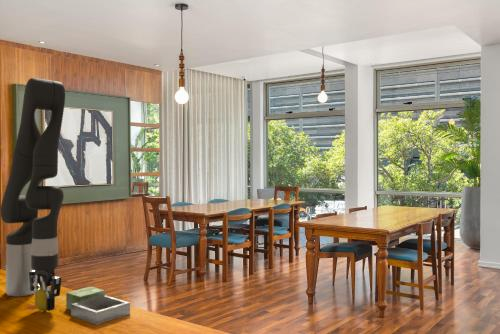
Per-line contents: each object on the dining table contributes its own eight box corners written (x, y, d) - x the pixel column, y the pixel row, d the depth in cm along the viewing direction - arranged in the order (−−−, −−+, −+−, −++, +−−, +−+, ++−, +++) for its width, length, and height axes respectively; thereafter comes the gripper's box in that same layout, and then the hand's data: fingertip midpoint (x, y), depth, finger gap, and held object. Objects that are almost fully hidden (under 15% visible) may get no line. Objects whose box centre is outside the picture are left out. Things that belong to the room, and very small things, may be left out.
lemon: (47, 315, 151) (47, 288, 150) (30, 314, 152) (30, 287, 152) (58, 310, 156) (58, 284, 156) (41, 308, 157) (41, 282, 157)
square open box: (57, 311, 155) (57, 294, 155) (91, 301, 165) (91, 286, 165) (96, 324, 144) (96, 307, 144) (129, 314, 153) (130, 297, 153)
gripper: (20, 251, 155) (20, 306, 155) (46, 257, 146) (46, 316, 147) (43, 247, 161) (43, 300, 161) (69, 253, 152) (69, 309, 153)
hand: (44, 307), depth 154 cm, fingers closed on lemon, 5 cm apart
